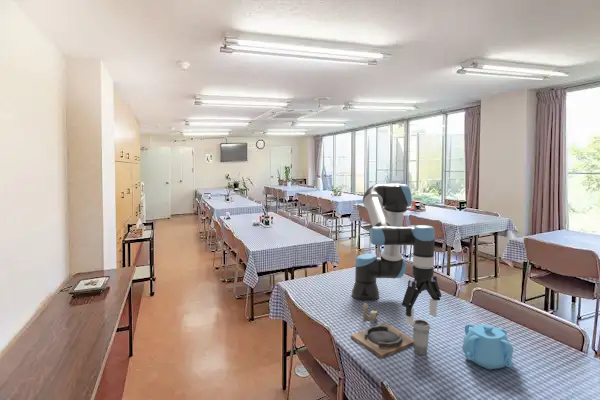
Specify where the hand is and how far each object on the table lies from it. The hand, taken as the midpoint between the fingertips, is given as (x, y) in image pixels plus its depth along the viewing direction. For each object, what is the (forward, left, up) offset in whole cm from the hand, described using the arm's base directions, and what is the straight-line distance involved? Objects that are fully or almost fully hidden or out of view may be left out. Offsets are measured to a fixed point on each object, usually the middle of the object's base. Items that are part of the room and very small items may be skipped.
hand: (421, 319), depth 128 cm
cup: (0, 0, -14) cm, 14 cm away
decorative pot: (-16, +17, -14) cm, 27 cm away
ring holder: (+6, -14, -13) cm, 20 cm away
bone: (-3, -30, -14) cm, 33 cm away
